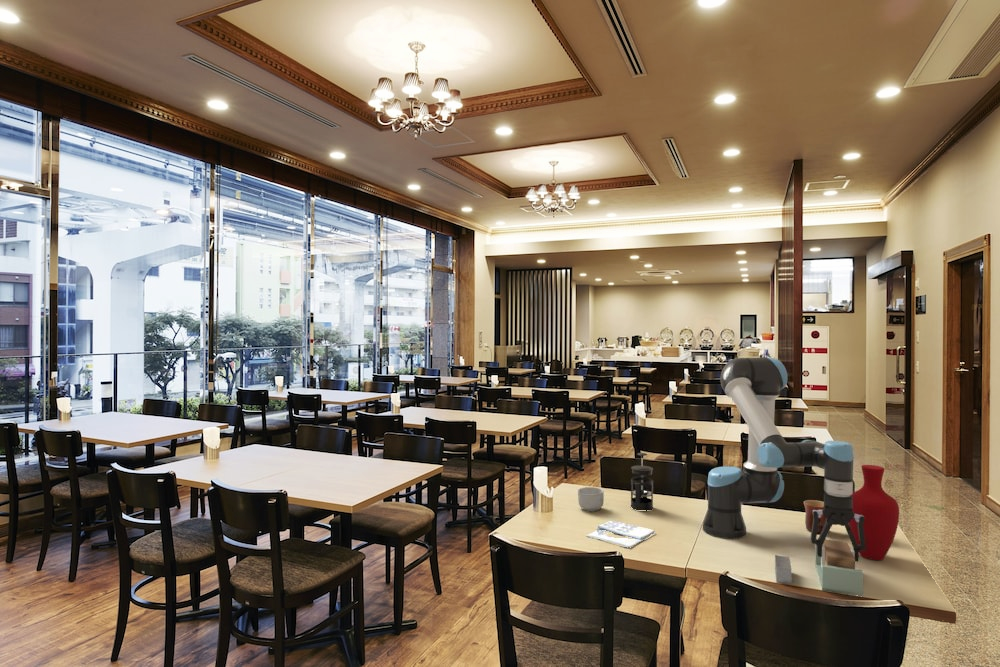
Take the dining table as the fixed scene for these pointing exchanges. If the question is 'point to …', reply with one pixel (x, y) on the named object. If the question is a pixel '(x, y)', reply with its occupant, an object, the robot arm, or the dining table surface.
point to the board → (838, 554)
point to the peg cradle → (839, 578)
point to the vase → (875, 514)
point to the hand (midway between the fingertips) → (837, 569)
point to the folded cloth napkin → (622, 533)
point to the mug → (809, 516)
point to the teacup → (590, 498)
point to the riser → (783, 569)
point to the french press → (640, 495)
